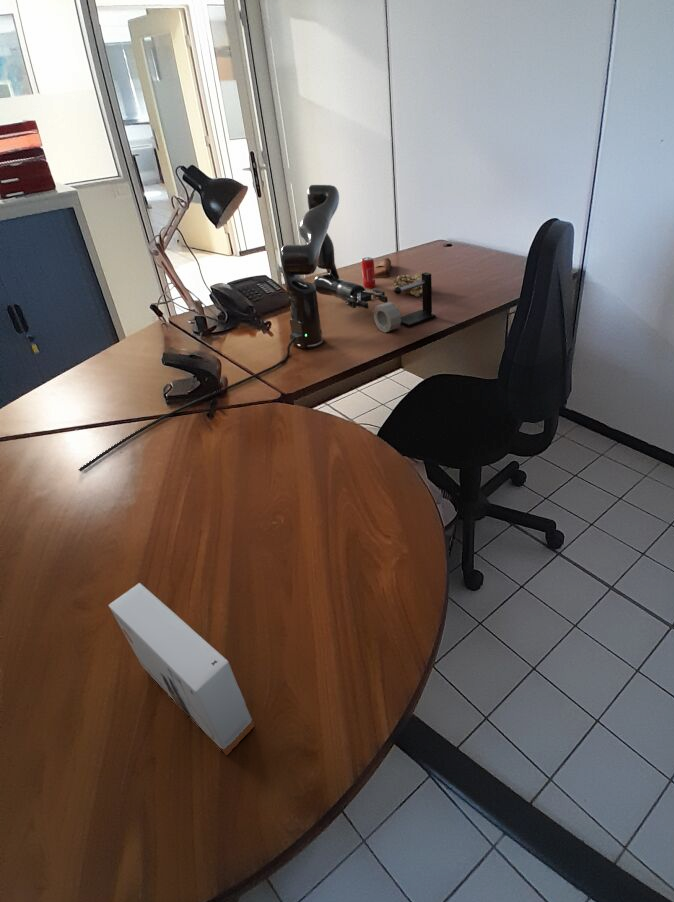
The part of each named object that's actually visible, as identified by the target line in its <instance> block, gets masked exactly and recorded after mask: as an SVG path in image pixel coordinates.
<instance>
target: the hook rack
mask: <svg viewBox="0 0 674 902" xmlns="http://www.w3.org/2000/svg"><path fill="white" fill-rule="evenodd" d="M421 275H422V281H419V282H416V283H413V284H410V285H406V286H403V287H396V288H395V287H394V289H393V292H394V294H395V295H400V294H401V293H402V292H406V290H409V289H412V288H415V287H418V286H422V294H421V295H422V309H419V310H417V311H414V312H411V313H408V314H405V315H402V316H401V324H400V326H401V325H402V326H404V327H406V328H409V329H410V328H412V327H415V326H417V325H420V324H423V323H425V322H428V321H431V320H434V319H436V318H437V317H436V314H434V313H433V292H432V291H433V290H432V288H433V287H432V284H433V283H432V273H429V272H422V273H421Z"/></svg>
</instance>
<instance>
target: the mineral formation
mask: <svg viewBox="0 0 674 902" xmlns="http://www.w3.org/2000/svg"><path fill="white" fill-rule="evenodd" d="M419 281H422V273H416V274H415V275H414V276H413V275H412V276H411V275H410V274H402V275H398V276H397V277H396V278H393V282H394V284H393V286H394V289H395V288H396V287H403V286H406V285H410V284H413V283H416V282H419ZM405 293H406V294H407V295H412V296H414V297H416V298H418V297H420V296H421V295H422V286H418V287H415V288H412V289H409V290H406V291H405Z"/></svg>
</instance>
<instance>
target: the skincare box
mask: <svg viewBox="0 0 674 902" xmlns="http://www.w3.org/2000/svg"><path fill="white" fill-rule="evenodd" d="M108 607H109V609H110V610H111V613H112V614H113V616H114V618H115V620H116V622H117V623H118V625H119V627H120V629H121V631H122V632H123V634H124V636H125V638H126V641H128V643H129V645H130V647H131V648H132V651H133V652H134V654H135V657H136V658H137V659H138V662H139V663H140V665H141V667H142V666H143V667H142V669H143V668H144V669H145V670H146V671H147V672H148V673H149V674H150V675H151V677H152V678H153V679H154V680H155V681H156V682H157V683H158V684H159V685H160V686H161V687H162V688H163V689H164V690H165V691H166V692H167V693H168V695H169V696H170V697H171V698H172V699H173V700H174V701H175V702H176V703H177V704H178V705H179V706H180V707H181V708H182V709H183V710H184V711H185V712H186V713H187V714H188V715H189V716H190V717H191V718H192V719H193V720H194V721H195V722H196V724H197V725H198V726H199V727H200V728H201V729H202V730H203V731H204V732H205V733H206V734H207V735H208V736H209V737H210V738H211V739H212V740H213V741H214V742H215V743H216V744H217V745H218V746H219V747H220V748H222V749H225V748H226V747H227V746H228V745H230V744H231V743H232V742H233V741H234V740H235V739H236V737H238V736H239V734H240V733H241V732H243V730H244V729H245V728H246V727H247V726H248V725H249V724H250V723H251V721H252V720H253V717H252V716H251V714H250V712H249V709H248V707H247V705H246V700H245V698H244V696H243V693H242V691H241V689H240V687H239V685H238V683H237V679H236V677H235V675H234V672H233V670H232V667H231V664H230V662H229V661H228V660H227V658H226V657H224V656H223V655H222V654H221V653H220V652H219V651H217V650H216V649H215V648H214V647H213V646H211V644H209V642H207V641H206V639H205V638H203V637H201V635H200V634H198V633H197V632H196V631H195V630H194V629H193V628H191V626H190V625H188V624H187V623H186V622H185V621H184V620H183V619H182V618H180V617H179V616H178V615H177V614H176V613H175V612H173V610H172V609H170V608H169V607H168V606H167V605H166V604H165V603H163V602H162V601H161V600H160V599H159V598H158V597H156V595H155V594H153V593H152V592H151V591H150V590H149V589H147V588H146V587H145V586H144V584H142V583H140V582H138V583H137V584H136V585H134V586H133V587H132V588H130V589H128V590H127V591H125V592H124V593H123V594H121V595H120V596H119V597H117V598H116V599H115V600H113V601H112V602H110V603H109V604H108ZM144 669H143V670H144ZM151 677H150V678H151ZM152 678H151V679H152ZM153 679H152V680H153ZM154 680H153V681H154ZM155 681H154V682H155ZM156 682H155V683H156ZM157 683H156V684H157ZM158 684H157V685H158ZM168 695H167V696H168ZM169 696H168V697H169ZM170 697H169V698H170ZM171 698H170V699H171ZM172 699H171V700H172ZM173 700H172V701H173ZM174 701H173V702H174ZM175 702H174V703H175ZM176 703H175V704H176ZM177 704H176V705H177ZM178 705H177V706H178ZM196 724H195V725H196ZM197 725H196V726H197ZM198 726H197V727H198ZM199 727H198V728H199Z"/></svg>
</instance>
